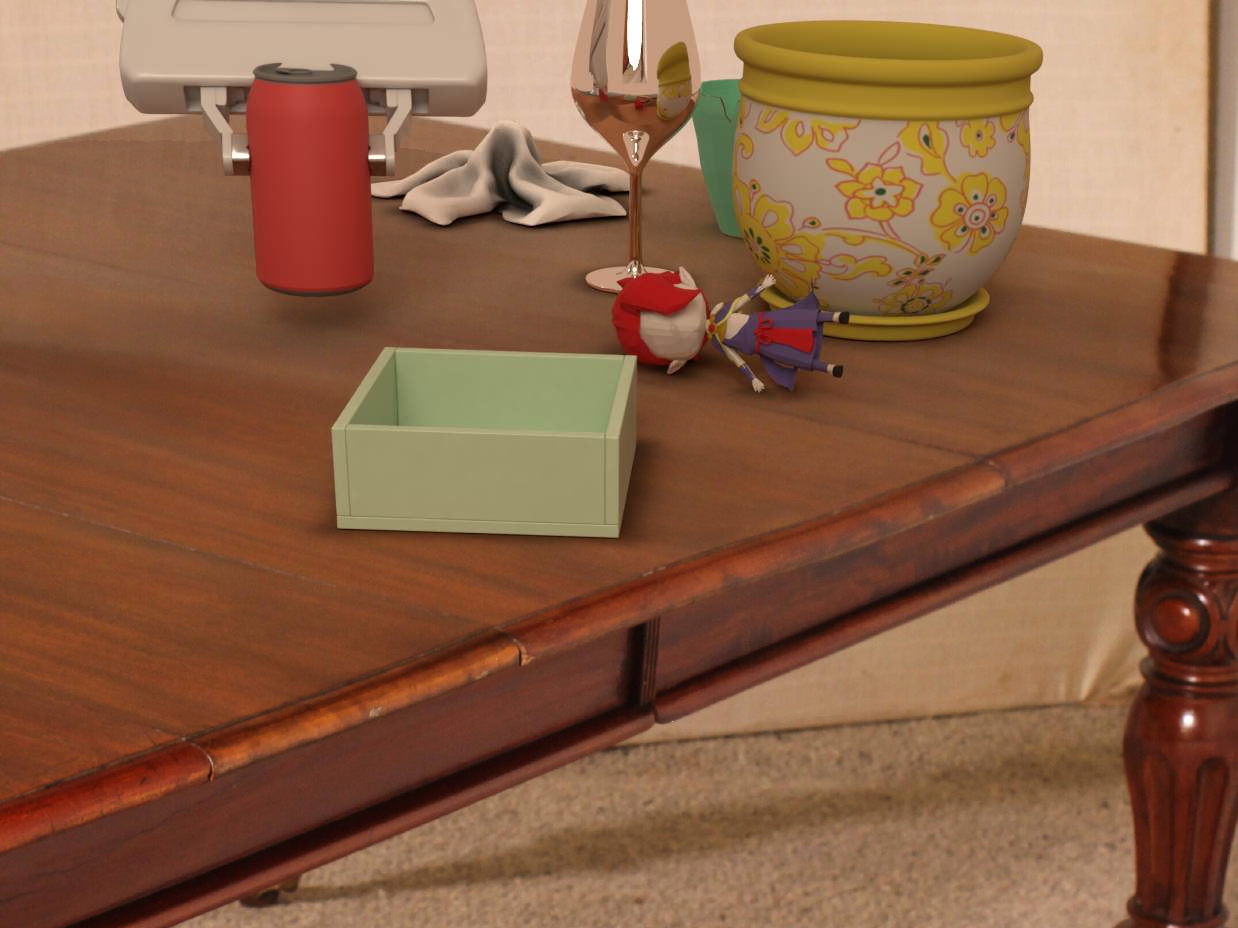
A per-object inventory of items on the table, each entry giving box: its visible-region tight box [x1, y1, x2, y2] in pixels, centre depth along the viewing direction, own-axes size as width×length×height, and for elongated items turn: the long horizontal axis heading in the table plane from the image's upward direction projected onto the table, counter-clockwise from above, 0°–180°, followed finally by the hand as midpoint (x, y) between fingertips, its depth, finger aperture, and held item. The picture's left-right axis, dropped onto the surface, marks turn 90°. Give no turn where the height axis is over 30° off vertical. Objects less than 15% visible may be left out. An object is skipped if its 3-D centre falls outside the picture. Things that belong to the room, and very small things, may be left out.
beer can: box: [245, 63, 375, 298], centre depth 105 cm, size 7×7×12 cm
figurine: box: [611, 265, 850, 393], centre depth 102 cm, size 6×8×15 cm
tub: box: [330, 346, 638, 539], centre depth 86 cm, size 12×12×5 cm
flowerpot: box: [732, 19, 1044, 342], centre depth 113 cm, size 18×18×16 cm
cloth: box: [371, 119, 629, 227], centre depth 141 cm, size 22×19×6 cm
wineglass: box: [569, 0, 703, 294], centre depth 118 cm, size 8×8×18 cm
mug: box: [691, 78, 743, 239], centre depth 134 cm, size 15×10×10 cm
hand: (311, 170), depth 105 cm, fingers closed on beer can, 6 cm apart
